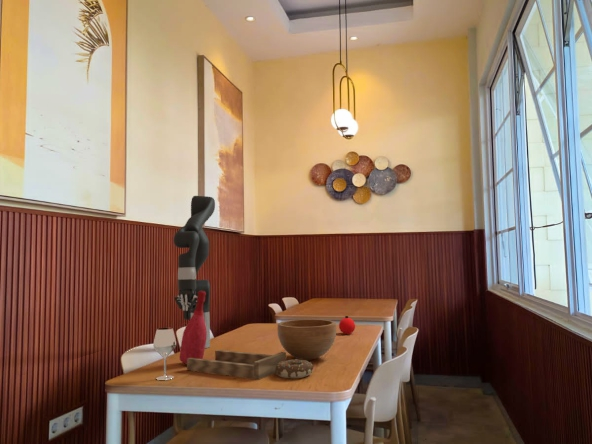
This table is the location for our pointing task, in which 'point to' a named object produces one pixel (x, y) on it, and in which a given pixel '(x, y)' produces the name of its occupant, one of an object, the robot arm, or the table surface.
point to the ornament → (347, 325)
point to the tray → (238, 364)
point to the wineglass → (165, 346)
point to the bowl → (307, 337)
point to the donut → (294, 368)
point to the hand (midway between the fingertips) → (187, 319)
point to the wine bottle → (194, 333)
